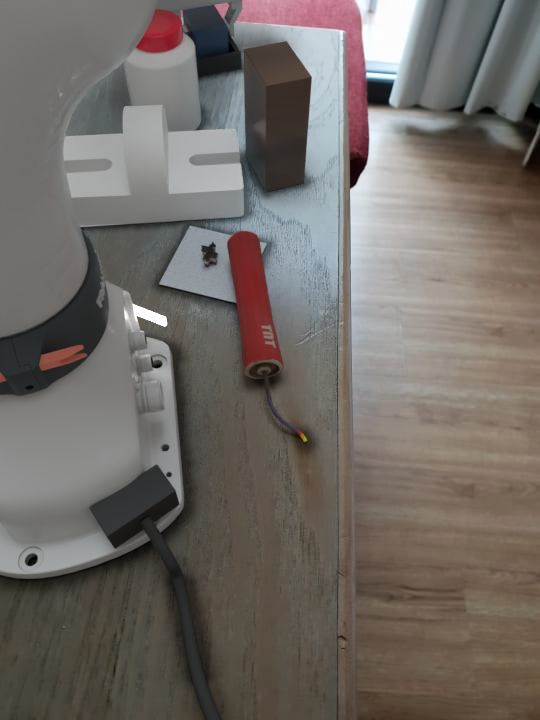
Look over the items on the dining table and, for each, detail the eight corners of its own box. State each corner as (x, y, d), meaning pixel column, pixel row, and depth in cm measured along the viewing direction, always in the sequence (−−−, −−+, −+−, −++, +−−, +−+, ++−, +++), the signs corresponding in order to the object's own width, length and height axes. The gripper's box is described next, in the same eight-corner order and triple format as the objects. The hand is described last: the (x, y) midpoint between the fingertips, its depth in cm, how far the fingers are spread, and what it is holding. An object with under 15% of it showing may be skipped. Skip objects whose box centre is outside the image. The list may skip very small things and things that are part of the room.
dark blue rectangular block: (229, 58, 76) (227, 26, 73) (198, 64, 76) (195, 32, 72) (214, 34, 80) (212, 2, 76) (185, 39, 79) (181, 7, 75)
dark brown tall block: (304, 183, 65) (312, 76, 55) (265, 192, 64) (266, 85, 54) (282, 147, 68) (286, 40, 58) (245, 155, 67) (243, 48, 57)
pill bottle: (198, 141, 69) (189, 44, 59) (129, 139, 69) (109, 42, 59) (204, 100, 73) (196, 4, 64) (139, 98, 73) (122, 2, 64)
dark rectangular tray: (241, 69, 77) (241, 52, 75) (192, 78, 75) (191, 62, 74) (221, 35, 81) (220, 19, 79) (174, 43, 80) (172, 27, 78)
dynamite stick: (219, 248, 57) (246, 446, 47) (235, 225, 55) (267, 427, 44) (261, 259, 59) (296, 450, 49) (278, 237, 57) (318, 433, 47)
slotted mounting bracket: (71, 165, 66) (47, 89, 59) (237, 155, 67) (234, 80, 60) (64, 228, 61) (37, 153, 53) (244, 216, 62) (242, 141, 55)
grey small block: (241, 304, 55) (240, 290, 54) (158, 284, 56) (155, 270, 55) (266, 243, 60) (267, 229, 58) (189, 226, 61) (188, 211, 59)
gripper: (106, -65, 61) (130, 67, 73) (295, -91, 65) (290, 38, 77) (93, -90, 64) (118, 40, 76) (275, -113, 69) (272, 13, 80)
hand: (206, 39), depth 76 cm, fingers closed on dark blue rectangular block, 4 cm apart
